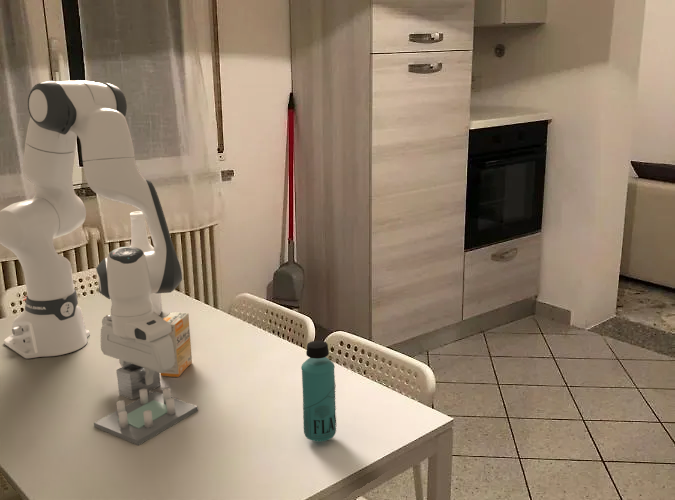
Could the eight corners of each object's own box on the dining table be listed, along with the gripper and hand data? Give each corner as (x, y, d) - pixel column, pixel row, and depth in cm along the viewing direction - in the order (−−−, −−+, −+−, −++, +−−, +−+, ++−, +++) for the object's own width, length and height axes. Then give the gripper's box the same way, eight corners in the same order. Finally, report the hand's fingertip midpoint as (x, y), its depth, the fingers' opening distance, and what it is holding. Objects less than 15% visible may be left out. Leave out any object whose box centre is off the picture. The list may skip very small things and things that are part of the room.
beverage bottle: (310, 452, 131) (307, 353, 126) (298, 435, 137) (294, 340, 132) (342, 444, 134) (340, 346, 128) (328, 428, 140) (326, 334, 134)
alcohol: (165, 308, 208) (156, 208, 200) (159, 318, 199) (149, 215, 191) (134, 309, 208) (124, 209, 199) (128, 320, 199) (117, 216, 191)
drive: (119, 394, 155) (116, 369, 153) (147, 380, 161) (144, 356, 160) (132, 399, 153) (129, 374, 151) (160, 385, 159) (158, 360, 157)
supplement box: (179, 377, 163) (174, 325, 159) (160, 376, 164) (155, 323, 160) (193, 362, 171) (189, 312, 167) (174, 361, 172) (170, 311, 168)
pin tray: (94, 427, 142) (92, 409, 141) (154, 395, 155) (153, 378, 154) (138, 445, 135) (136, 426, 134) (197, 410, 148) (196, 393, 147)
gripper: (90, 317, 156) (97, 374, 159) (154, 336, 145) (160, 397, 148) (113, 309, 161) (119, 364, 164) (176, 326, 150) (181, 385, 153)
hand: (139, 380), depth 156 cm, fingers closed on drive, 4 cm apart
